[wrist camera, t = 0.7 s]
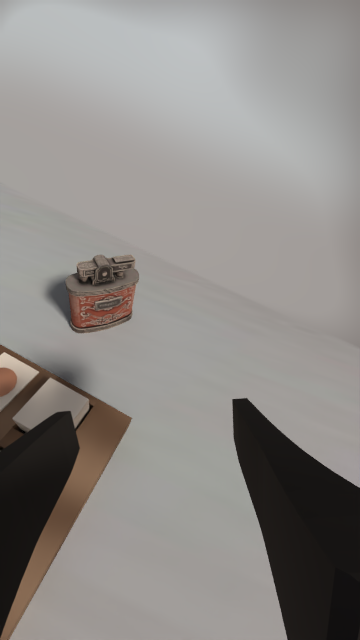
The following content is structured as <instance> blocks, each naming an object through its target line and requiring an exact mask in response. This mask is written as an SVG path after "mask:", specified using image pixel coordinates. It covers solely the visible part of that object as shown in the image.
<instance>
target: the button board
mask: <svg viewBox="0 0 360 640" xmlns="http://www.w3.org/2000/svg"><path fill="white" fill-rule="evenodd" d="M4 352H5V353H7V354H8V355H10V356H12V357H14V358H16V359H17V360H19V361H21V362H23V363H24V364H26V365H28V366H30V367H32V368H33V369H35V370H37V371H39V373H38V374H37V375H36V376H35V377H34V378H33V379H32V380H31V381H30V382H29V383H28V384H27V385H26V387H25V388H24V389H23V390H22V391H21V392H20V393H19V394H18V395H17V396H16V397H15V398H14V399H13V400H12V401H11V402H10V403H9V404H8V405H7V406H6V407H5V408H4V409H3V410H2V411H1V412H0V451H1V450H3V449H4V448H6V447H7V446H8V445H10V444H11V443H13V442H14V441H16V440H17V439H18V438H20V437H21V436H23V435H24V434H22V433H21V432H22V431H23V430H21V429H20V428H19V426H18V425H17V424H16V423H15V421H14V420H13V419H12V418H13V417H14V416H15V415H16V414H17V413H18V412H19V411H20V410H21V408H22V407H23V406H24V405H25V404H26V403H27V402H28V401H29V400H30V399H31V398H32V397H33V396H34V394H35V393H36V392H37V391H38V390H39V389H40V388H41V387H42V386H43V385H44V384H45V383H46V381H47V380H48V379H49V378H52V379H54V380H56V381H57V382H59V383H61V384H63V385H64V386H66V387H68V388H70V389H72V390H73V391H75V392H77V393H79V394H81V395H82V396H84V397H86V398H88V399H89V414H88V415H87V416H86V418H85V419H84V421H83V422H82V423H81V425H80V426H79V428H78V429H77V431H76V434H77V438H78V442H79V446H80V450H79V453H78V456H77V459H76V462H75V464H74V467H73V470H72V472H71V474H70V477H69V479H68V481H67V483H66V485H65V487H64V489H63V491H62V493H61V495H60V497H59V499H58V501H57V503H56V505H55V507H54V509H53V511H52V513H51V515H50V517H49V519H48V521H47V523H46V525H45V527H44V529H43V531H42V533H41V535H40V537H39V540H38V542H37V544H36V546H35V549H34V551H33V554H32V556H31V558H30V561H29V563H28V566H27V568H26V571H25V573H24V576H23V578H22V581H21V583H20V586H19V589H18V591H17V594H16V597H15V599H14V602H13V605H12V607H11V610H10V613H9V615H8V618H7V621H6V623H5V626H4V629H3V632H2V635H1V638H0V640H9V639H10V637H11V635H12V633H13V631H14V630H15V628H16V626H17V624H18V623H19V621H20V619H21V617H22V615H23V614H24V612H25V610H26V608H27V607H28V605H29V603H30V601H31V599H32V598H33V596H34V594H35V592H36V590H37V589H38V587H39V585H40V583H41V582H42V580H43V578H44V576H45V574H46V573H47V571H48V569H49V567H50V566H51V564H52V562H53V560H54V558H55V557H56V555H57V553H58V551H59V549H60V548H61V546H62V544H63V542H64V541H65V539H66V537H67V535H68V533H69V532H70V530H71V528H72V526H73V525H74V523H75V521H76V519H77V517H78V516H79V514H80V512H81V510H82V508H83V507H84V505H85V503H86V501H87V500H88V498H89V496H90V494H91V492H92V491H93V489H94V487H95V485H96V484H97V482H98V480H99V478H100V476H101V475H102V473H103V471H104V469H105V467H106V466H107V464H108V462H109V460H110V459H111V457H112V455H113V453H114V451H115V450H116V448H117V446H118V444H119V443H120V441H121V439H122V437H123V435H124V434H125V432H126V430H127V428H128V426H129V424H130V422H131V419H132V418H131V417H129V416H127V415H125V414H124V413H122V412H120V411H118V410H116V409H115V408H113V407H111V406H109V405H108V404H106V403H104V402H102V401H100V400H99V399H97V398H95V397H93V396H91V395H90V394H88V393H86V392H84V391H82V390H81V389H79V388H77V387H75V386H74V385H72V384H70V383H68V382H66V381H65V380H63V379H61V378H59V377H57V376H56V375H54V374H52V373H50V372H48V371H47V370H45V369H43V368H41V367H40V366H38V365H36V364H34V363H32V362H31V361H29V360H27V359H25V358H23V357H22V356H20V355H18V354H16V353H14V352H13V351H11V350H9V349H7V348H6V347H4V346H2V345H0V355H1V354H2V353H4Z"/></svg>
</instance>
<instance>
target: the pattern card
mask: <svg viewBox="0 0 360 640" xmlns="http://www.w3.org/2000/svg"><path fill="white" fill-rule="evenodd" d="M38 373H39V371H37V370H35V369H33V368H32V367H30V366H28V365H26V364H24V363H23V362H21V361H19V360H17V359H16V358H14V357H12V356H10V355H8V354H7V353H5V352H4V353H2V354H1V355H0V412H1V411H2V410H3V409H4V408H5V407H6V406H7V405H8V404H9V403H10V402H11V401H12V400H13V399H14V398H15V397H16V396H17V395H18V394H19V393H20V392H21V391H22V390H23V389H24V388H25V387H26V385H27V384H28V383H29V382H30V381H31V380H32V379H33V378H34V377H35V376H36V375H37V374H38Z"/></svg>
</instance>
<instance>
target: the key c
mask: <svg viewBox="0 0 360 640" xmlns="http://www.w3.org/2000/svg"><path fill="white" fill-rule="evenodd" d="M62 411H71V414H72V418H73V422H74V426H75V430H76V429H77V427H78V426H79V425H80V423H81V422H82V420H83V419H84V417H85V416H86V415H87V413H88V412H89V399H88V398H86V397H84V396H82V395H81V394H79V393H77V392H75V391H73V390H72V389H70V388H68V387H66V386H64V385H63V384H61V383H59V382H57V381H56V380H54V379H52V378H49V379H48V380H47V381H46V383H45V384H44V385H43V386H42V387H41V388H40V389H39V390H38V391H37V392H36V393H35V394H34V396H33V397H32V398H31V399H30V400H29V401H28V402H27V403H26V404H25V405H24V406H23V407H22V408H21V410H20V411H19V412H18V413H17V414H16V415H15V416H14V417H13V418H12V419H13V420H14V421H15V423H16V424H17V425H18V426H19V428H20V429H21V430H23V431H25V432H26V433H27V432H28V431H30V430H31V429H33V428H34V427H35V426H37V425H38V424H40V423H41V422H42V421H44V420H45V419H47V418H48V417H50V416H51V415H53V414H55V413H56V412H62Z"/></svg>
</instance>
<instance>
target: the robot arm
mask: <svg viewBox="0 0 360 640" xmlns="http://www.w3.org/2000/svg"><path fill="white" fill-rule="evenodd" d="M232 400H233V428H234V441H235V446H236V451H237V455H238V460H239V463H240V466H241V470H242V473H243V476H244V479H245V482H246V485H247V488H248V491H249V494H250V497H251V500H252V503H253V506H254V509H255V512H256V515H257V518H258V521H259V524H260V528H261V531H262V534H263V538H264V542H265V546H266V550H267V554H268V558H269V562H270V567H271V571H272V575H273V579H274V583H275V587H276V592H277V596H278V600H279V604H280V608H281V613H282V617H283V621H284V626H285V630H286V634H287V639H288V640H360V488H359V487H357V486H355V485H354V484H352V483H351V482H349V481H347V480H346V479H344V478H343V477H341V476H339V475H338V474H336V473H335V472H333V471H332V470H330V469H329V468H327V467H326V466H324V465H323V464H321V463H320V462H318V461H317V460H316V459H314V458H313V457H311V456H310V455H309V454H307V453H306V452H305V451H303V450H302V449H301V448H299V447H298V446H297V445H296V444H295V443H293V442H292V441H291V440H290V439H289V438H287V437H286V436H285V435H284V434H283V433H282V432H281V431H280V430H278V429H277V428H276V427H275V426H274V425H273V424H272V423H271V422H270V421H269V420H268V419H267V418H266V417H265V416H264V415H263V414H262V413H261V412H260V411H259V410H258V409H257V408H256V407H255V406H254V405H253V404H252V403H251V402H250V401H249V400H248V399H247V398H243V399H232ZM79 450H80V446H79V442H78V438H77V434H76V430H75V426H74V422H73V418H72V414H71V411H62V412H56V413H55V414H53V415H51V416H50V417H48V418H47V419H45V420H44V421H42V422H41V423H40V424H38V425H37V426H35V427H34V428H33V429H31V430H30V431H28V432H27V433H25V434H24V435H23V436H21V437H20V438H18V439H17V440H16V441H14V442H13V443H11V444H10V445H8V446H7V447H6V448H4V449H3V450H1V451H0V638H1V635H2V632H3V629H4V626H5V623H6V621H7V618H8V615H9V613H10V610H11V607H12V605H13V602H14V599H15V597H16V594H17V591H18V589H19V586H20V583H21V581H22V578H23V576H24V573H25V571H26V568H27V566H28V563H29V561H30V558H31V556H32V554H33V551H34V549H35V546H36V544H37V542H38V540H39V537H40V535H41V533H42V531H43V529H44V527H45V525H46V523H47V521H48V519H49V517H50V515H51V513H52V511H53V509H54V507H55V505H56V503H57V501H58V499H59V497H60V495H61V493H62V491H63V489H64V487H65V485H66V483H67V481H68V479H69V477H70V474H71V472H72V470H73V467H74V464H75V462H76V459H77V456H78V453H79Z"/></svg>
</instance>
